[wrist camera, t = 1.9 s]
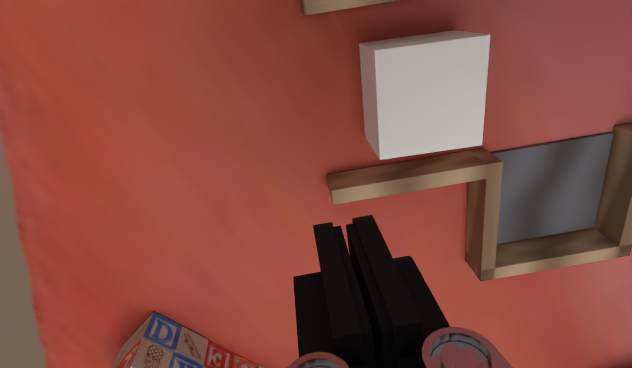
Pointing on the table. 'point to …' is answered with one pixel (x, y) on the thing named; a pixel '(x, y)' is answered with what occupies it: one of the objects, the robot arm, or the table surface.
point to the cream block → (424, 92)
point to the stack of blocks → (174, 348)
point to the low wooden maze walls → (518, 194)
